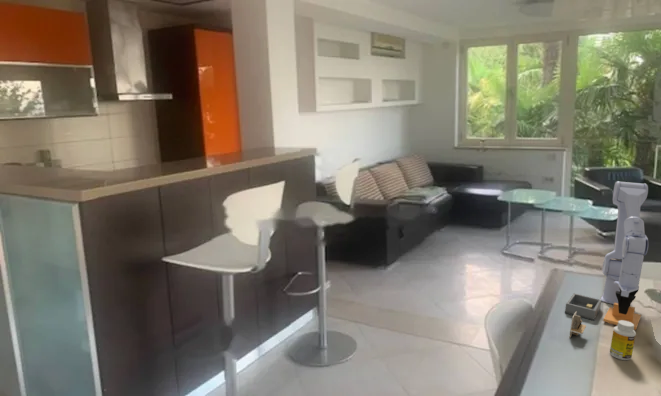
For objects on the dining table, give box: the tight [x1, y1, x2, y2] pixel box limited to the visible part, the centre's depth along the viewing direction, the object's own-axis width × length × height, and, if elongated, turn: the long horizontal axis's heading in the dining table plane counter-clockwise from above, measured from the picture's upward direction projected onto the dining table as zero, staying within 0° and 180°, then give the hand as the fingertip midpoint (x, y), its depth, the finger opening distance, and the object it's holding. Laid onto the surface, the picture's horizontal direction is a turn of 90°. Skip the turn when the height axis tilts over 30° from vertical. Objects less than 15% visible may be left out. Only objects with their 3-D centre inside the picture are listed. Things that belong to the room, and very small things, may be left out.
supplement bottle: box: [609, 320, 637, 361], centre depth 143 cm, size 6×6×10 cm
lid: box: [602, 303, 642, 331], centre depth 167 cm, size 12×9×6 cm
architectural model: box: [568, 311, 587, 339], centre depth 154 cm, size 3×7×7 cm, turn 144°
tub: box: [564, 292, 603, 322], centre depth 174 cm, size 12×9×4 cm
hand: (623, 310), depth 167 cm, fingers open, 5 cm apart
